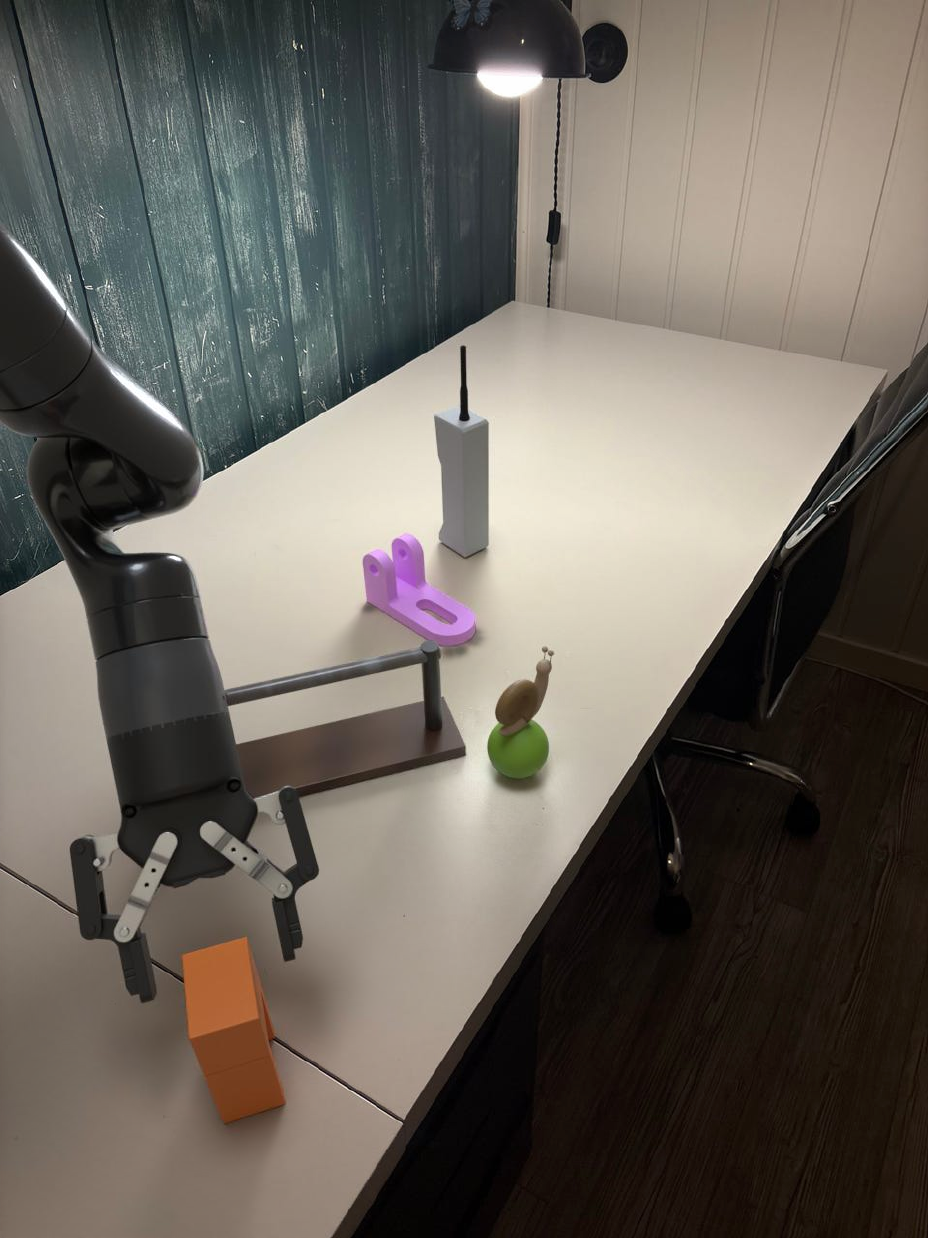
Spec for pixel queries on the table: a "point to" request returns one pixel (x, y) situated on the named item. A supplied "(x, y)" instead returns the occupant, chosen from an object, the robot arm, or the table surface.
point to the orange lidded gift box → (231, 1029)
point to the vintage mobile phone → (464, 473)
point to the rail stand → (351, 731)
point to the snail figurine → (521, 726)
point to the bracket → (414, 594)
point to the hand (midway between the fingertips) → (221, 978)
